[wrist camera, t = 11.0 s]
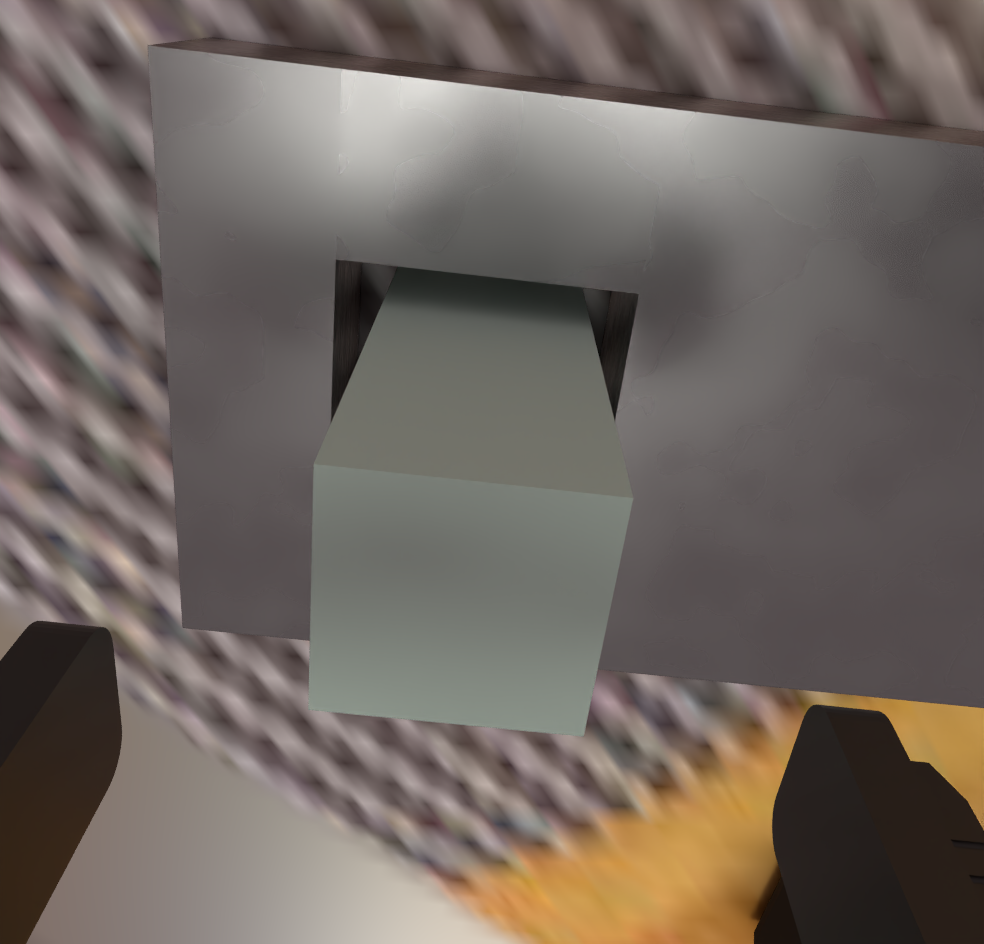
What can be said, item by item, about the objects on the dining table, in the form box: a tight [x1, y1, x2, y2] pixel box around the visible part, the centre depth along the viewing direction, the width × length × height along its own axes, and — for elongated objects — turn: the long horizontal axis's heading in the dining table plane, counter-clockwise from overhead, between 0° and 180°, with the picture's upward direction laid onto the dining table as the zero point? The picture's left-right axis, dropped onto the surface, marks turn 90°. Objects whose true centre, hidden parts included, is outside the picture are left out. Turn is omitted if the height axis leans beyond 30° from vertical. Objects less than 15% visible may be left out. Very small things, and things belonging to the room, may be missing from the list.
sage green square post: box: [308, 266, 633, 737], centre depth 17 cm, size 4×4×10 cm
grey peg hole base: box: [148, 38, 984, 708], centre depth 20 cm, size 22×12×4 cm, turn 84°
